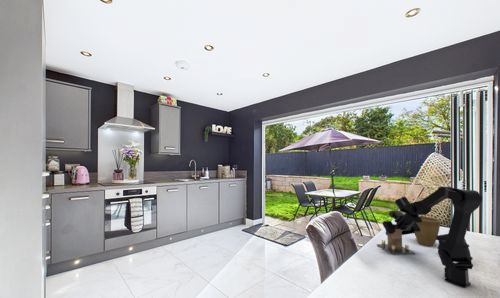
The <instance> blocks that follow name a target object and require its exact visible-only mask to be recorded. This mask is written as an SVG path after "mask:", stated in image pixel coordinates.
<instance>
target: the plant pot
mask: <svg viewBox="0 0 500 298" xmlns="http://www.w3.org/2000/svg"><path fill="white" fill-rule="evenodd" d="M419 217H421V220H422V223H418V222H416V223H417V225H418V226H419V228H420V232H419V233H413V234H414V236H415V239H416V240H417V243H418V244H419V245H421V246H425V247H434V246H435V244H436V241H437V240H436V236H438V235H439V233H440V228H441V220H440V219H438V218H434V217H429V216H422V215H419Z"/></svg>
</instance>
